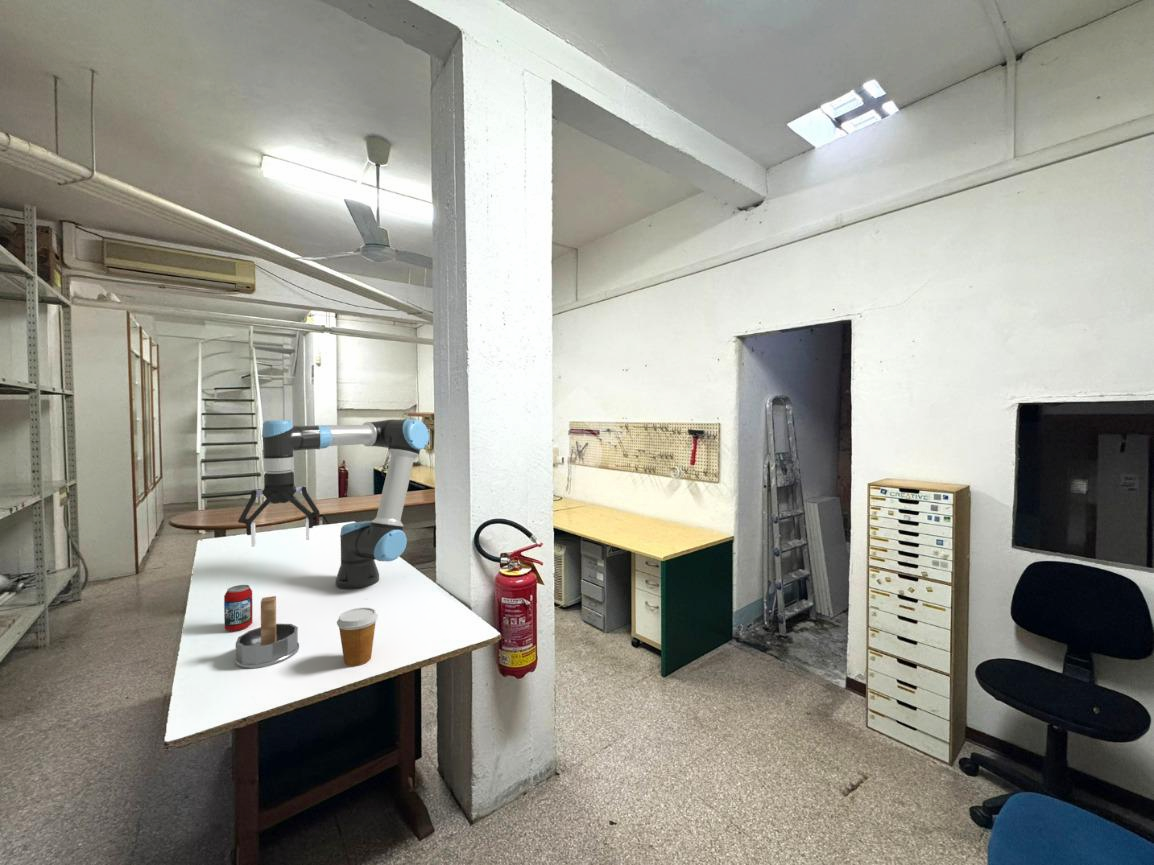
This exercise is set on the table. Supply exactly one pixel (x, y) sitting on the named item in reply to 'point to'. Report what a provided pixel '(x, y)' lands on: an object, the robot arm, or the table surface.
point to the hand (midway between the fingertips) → (281, 542)
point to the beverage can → (238, 608)
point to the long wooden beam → (268, 620)
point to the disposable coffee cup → (357, 635)
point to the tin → (266, 647)
